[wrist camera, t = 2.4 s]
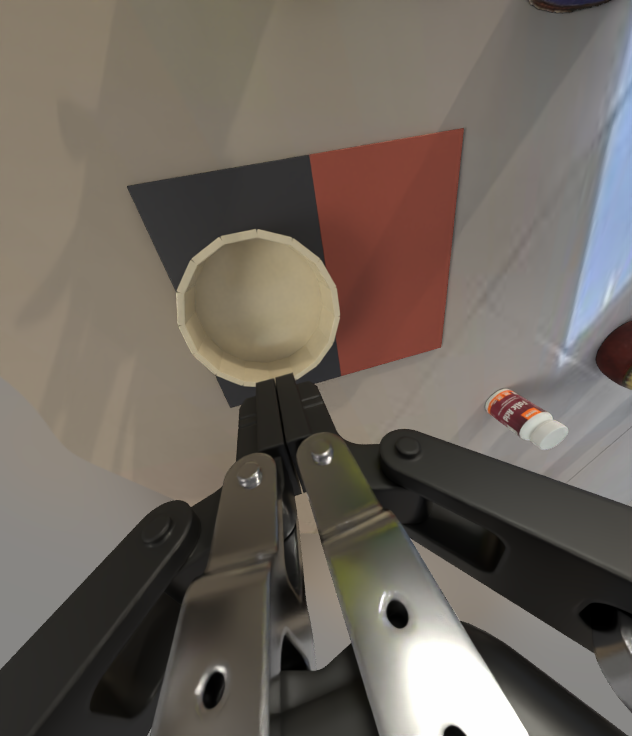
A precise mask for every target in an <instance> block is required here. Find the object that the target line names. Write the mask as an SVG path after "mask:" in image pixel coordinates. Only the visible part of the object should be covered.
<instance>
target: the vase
mask: <svg viewBox="0 0 632 736" xmlns="http://www.w3.org/2000/svg"><path fill="white" fill-rule="evenodd" d="M596 363H597V366H598V367H599V369H600V371H601V372H602V373H603V374H604V375H606V376H607V377H608V378H609V379H611V380H612V381H614V382H615V383H617V384H619V385H621V386H623V387H625V388H628V389H630V390H632V321H630V322H627V323H625V324H623V325H622V326H620V327H619V328H617V329H616V330H615V331H614V332H612V333H611V334H610V335H609V336H608V337H607V339H606V340H605V341H604V342H603V344H602V345H601V347H600V348H599V350H598V353H597V356H596Z"/></svg>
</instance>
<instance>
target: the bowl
mask: <svg viewBox="0 0 632 736" xmlns="http://www.w3.org/2000/svg"><path fill="white" fill-rule="evenodd" d="M176 300H177V324H178V325H179V326H178V327H179V329H180V331H181V333H182V335H183V337H184V339H185V341H186V343H187V345H188V347H189V349H190V351H191V353H192V354H193V356H194V357H195V358H197V359H198V360H199V361H200V362H201V363H202V364H203V365H204V366H206V367H207V368H208V369H209V370H210V371H211V372H212V373H213V374H216V376H218V377H221V378H223V379H226V380H228V381H231V382H233V383H236V384H238V385H241V386H242V385H243V386H250V387H256V383H257V382H261V381H264V380H268V379H271V378H274V379H275V377H278V376H282V375H286V374H289V373H293V375H294V378H295V380H296V379H297V380H298V379H299V378H300V377H302V376H303V375H305V374H306V373H308V372H309V371H310V370H312V369H313V368H315V367H316V366H317V364H319V363H320V362H321V360H322V359H323V358H324V356H325V355H326V353H327V352H328V350H329V349H330V348H331V346H332V345H333V343H334V340H335V336H336V332H337V328H338V324H339V320H340V317H339V316H340V309H339V301H338V293H337V288H336V285H335V283H334V281H333V280H332V278H331V276H330V274H329V273H328V271H327V269H326V267H325V266H324V264H323V262H322V260H320V258H319V257H318V256H316V255H315V254H314V253H312V252H311V251H310V250H308V249H307V248H306V247H305V246H303V245H302V244H301V243H299V242H298V241H297V240H295V239H294V238H292V237H289V236H285V235H280V234H276V233H272V232H268V231H264V230H260V229H257V230H256V229H253V230H248V231H243V232H238V233H233V234H228V235H223V236H221V237H218V238H217V239H216V240H214V241H213V242H212V243H210V244H209V245H208V246H207V247H205V248H204V249H203V250H202V251H200V252H199V253H198V254H197V255H195V256H194V257H193V258H192V260H190V262H189V264H188V266H187V268H186V271H185V273H184V275H183V277H182V280H181V282H180V284H179V286H178V288H177V293H176ZM275 382H276V379H275Z"/></svg>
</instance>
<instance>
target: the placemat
mask: <svg viewBox="0 0 632 736" xmlns="http://www.w3.org/2000/svg"><path fill="white" fill-rule="evenodd" d="M463 132H464V128H461V129H456V130H450V131H444V132H438V133H432V134H427V135H421V136H415V137H409V138H403V139H398V140H392V141H386V142H380V143H374V144H368V145H363V146H357V147H351V148H345V149H339V150H334V151H328V152H322V153H316V154H310V155H305V156H299V157H293V158H287V159H281V160H276V161H270V162H264V163H258V164H252V165H247V166H241V167H235V168H229V169H223V170H217V171H212V172H206V173H200V174H194V175H188V176H183V177H177V178H171V179H165V180H159V181H154V182H148V183H142V184H136V185H130V186H127V188H128V190H129V192H130V195H131V197H132V199H133V201H134V203H135V205H136V207H137V210H138V212H139V214H140V216H141V218H142V220H143V222H144V224H145V227H146V229H147V231H148V233H149V235H150V237H151V239H152V242H153V244H154V246H155V248H156V250H157V252H158V254H159V256H160V259H161V261H162V263H163V265H164V267H165V269H166V271H167V274H168V276H169V278H170V280H171V282H172V284H173V286H174V288H175V291H176V293H177V288H178V286H179V284H180V282H181V280H182V277H183V275H184V273H185V271H186V268H187V266H188V264H189V262H190V260H192V258H193V257H194V256H195V255H197V254H198V253H199V252H200V251H202V250H203V249H204V248H205V247H207V246H208V245H209V244H210V243H212V242H213V241H214V240H216V239H217V238H218V237H221V236H223V235H228V234H233V233H238V232H243V231H248V230H253V229H256V230H257V229H260V230H264V231H268V232H272V233H276V234H280V235H285V236H289V237H292V238H294V239H295V240H297V241H298V242H299V243H301V244H302V245H303V246H305V247H306V248H307V249H308V250H310V251H311V252H312V253H314V254H315V255H316V256H318V257H319V258H320V260H322V262H323V264H324V266H325V267H326V269H327V271H328V273H329V274H330V276H331V278H332V280H333V281H334V283H335V285H336V288H337V293H338V301H339V309H340V316H339V317H340V320H339V324H338V328H337V332H336V336H335V340H334V343H333V345H332V346H331V348H330V349H329V350H328V352H327V353H326V355H325V356H324V358H323V359H322V360H321V362H320V363H319V364H317V366H316V367H315V368H313V369H312V370H310V371H309V372H308V373H306V374H305V375H303V376H302V377H300V378H299V379H298V380H297V379H296V380H295V381H296V384H299V383H303V382H306V381H310V382H311V383H313V384H315V383H319V382H322V381H326V380H329V379H333V378H336V377H340V376H343V375H347V374H350V373H354V372H357V371H360V370H364V369H367V368H371V367H374V366H378V365H381V364H385V363H388V362H392V361H395V360H399V359H402V358H406V357H409V356H413V355H416V354H420V353H423V352H427V351H430V350H434V349H437V348H441V343H442V334H443V324H444V314H445V305H446V295H447V286H448V276H449V266H450V257H451V247H452V237H453V228H454V218H455V209H456V199H457V189H458V180H459V170H460V160H461V151H462V141H463ZM215 376H216V374H215ZM216 378H217V380H218V382H219V384H220V387H221V389H222V391H223V393H224V395H225V397H226V399H227V402H228V404H229V406H230V408H232V407H235V406H239V405H242V404H243V402H244V401H245V399H247V398H250V397H254V396H256V387H250V386H243V385H242V386H241V385H238V384H236V383H233V382H231V381H228V380H226V379H223V378H221V377H218V376H216Z"/></svg>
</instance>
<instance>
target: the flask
mask: <svg viewBox="0 0 632 736" xmlns="http://www.w3.org/2000/svg"><path fill="white" fill-rule="evenodd" d="M609 1H611V0H529V2H530V4H531V5H534V6H535V7H536V8H538V9H542V10H548V11H550V12H552V13H553V12H555V11H556V12H557V13H559V12H560V13H563V12H573V11H575V10H579V9H580V10H581V9H584V8H589V7H592V6H596V5H597V6H598V5H601V4H603V3H607V2H609Z"/></svg>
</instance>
